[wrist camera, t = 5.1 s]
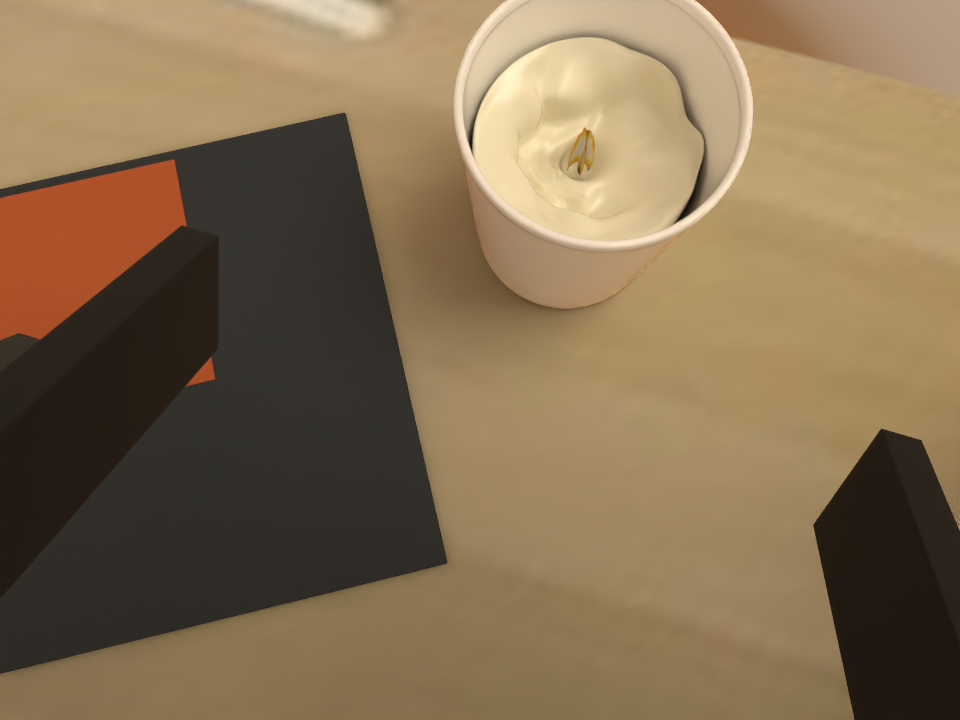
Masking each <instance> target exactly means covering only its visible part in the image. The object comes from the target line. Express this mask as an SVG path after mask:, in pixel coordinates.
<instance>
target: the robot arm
mask: <svg viewBox="0 0 960 720" xmlns="http://www.w3.org/2000/svg"><path fill="white" fill-rule="evenodd" d="M218 325H219V236H217V235H214V234H210V233H207V232H203V231H200V230H197V229H193V228H190V227H186V226H183V225H181V226H180V227H179V228H178V229H176V230H175V231H174V232H173V233H171V234H170V235H169V236H168V237H166V238H165V239H164V240H163V241H161V242H160V243H159V244H158V245H157V246H155V247H154V248H153V249H152V250H150V251H149V252H148V253H147V254H145V255H144V256H143V257H142V258H140V259H139V260H138V261H137V262H136V263H134V264H133V265H132V266H131V267H129V268H128V269H127V270H126V271H124V272H123V273H122V274H121V275H119V276H118V277H117V278H116V279H115V280H113V281H112V282H111V283H110V284H108V285H107V286H106V287H105V288H103V289H102V290H101V291H100V292H98V293H97V294H96V295H95V296H94V297H92V298H91V299H90V300H89V301H87V302H86V303H85V304H84V305H82V306H81V307H80V308H79V309H77V310H76V311H75V312H74V313H72V314H71V315H70V316H69V317H68V318H66V319H65V320H64V321H63V322H61V323H60V324H59V325H58V326H56V327H55V328H54V329H53V330H51V331H50V332H49V333H48V334H47V335H45V336H44V337H43V338H42V339H38V338H34V337H31V336H28V335H24V334H21V333H17V334H15V335H12V336H10V337H7V338H5V339H2V340H0V597H3V596H4V594H5V593H6V592H7V591H8V590H9V589H10V588H11V586H12V585H13V584H14V583H15V582H16V581H17V579H18V578H19V577H20V576H21V575H22V574H23V573H24V571H25V570H26V569H27V568H28V567H29V566H30V565H31V563H32V562H33V561H34V560H35V559H36V558H37V556H38V555H39V554H40V553H41V552H42V551H43V550H44V548H45V547H46V546H47V545H48V544H49V543H50V542H51V540H52V539H53V538H54V537H55V536H56V535H57V533H58V532H59V531H60V530H61V529H62V528H63V527H64V525H65V524H66V523H67V522H68V521H69V520H70V518H71V517H72V516H73V515H74V514H75V513H76V512H77V510H78V509H79V508H80V507H81V506H82V505H83V504H84V502H85V501H86V500H87V499H88V498H89V497H90V495H91V494H92V493H93V492H94V491H95V490H96V489H97V487H98V486H99V485H100V484H101V483H102V482H103V481H104V479H105V478H106V477H107V476H108V475H109V474H110V472H111V471H112V470H113V469H114V468H115V467H116V466H117V464H118V463H119V462H120V461H121V460H122V459H123V458H124V456H125V455H126V454H127V453H128V452H129V451H130V449H131V448H132V447H133V446H134V445H135V444H136V443H137V441H138V440H139V439H140V438H141V437H142V436H143V434H144V433H145V432H146V431H147V430H148V429H149V428H150V426H151V425H152V424H153V423H154V422H155V421H156V420H157V418H158V417H159V416H160V415H161V414H162V413H163V411H164V410H165V409H166V408H167V407H168V406H169V405H170V403H171V402H172V401H173V400H174V399H175V398H176V397H177V395H178V394H179V393H180V392H181V391H182V390H183V388H184V387H185V386H186V385H187V384H188V383H189V382H190V380H191V379H192V378H193V377H194V376H195V375H196V373H197V372H198V371H199V370H200V369H201V368H202V367H203V365H204V364H205V363H206V362H207V361H208V360H209V359H210V357H211V356H212V355H213V354H214V353H215V352H216V350H217V349H218ZM813 526H814V531H815V535H816V540H817V545H818V550H819V554H820V559H821V564H822V568H823V573H824V578H825V582H826V587H827V592H828V597H829V601H830V606H831V611H832V615H833V620H834V625H835V630H836V634H837V639H838V644H839V648H840V653H841V658H842V662H843V667H844V672H845V677H846V681H847V686H848V691H849V695H850V700H851V705H852V710H853V714H854V719H855V720H960V531H959V529H958V526H957V524H956V521H955V519H954V517H953V514H952V512H951V509H950V507H949V505H948V502H947V500H946V498H945V495H944V493H943V490H942V488H941V486H940V483H939V481H938V479H937V476H936V474H935V471H934V469H933V467H932V464H931V462H930V460H929V457H928V455H927V452H926V450H925V448H924V445H923V443H922V440H919V439H915V438H912V437H908V436H905V435H901V434H898V433H895V432H891V431H888V430H884V429H881V430H880V431H879V433H878V434H877V435H876V437H875V438H874V440H873V441H872V443H871V444H870V445H869V447H868V448H867V450H866V451H865V452H864V454H863V455H862V457H861V458H860V460H859V461H858V462H857V464H856V465H855V467H854V468H853V469H852V471H851V472H850V474H849V475H848V477H847V478H846V479H845V481H844V482H843V484H842V485H841V486H840V488H839V489H838V491H837V492H836V494H835V495H834V496H833V498H832V499H831V501H830V502H829V503H828V505H827V506H826V508H825V509H824V511H823V512H822V513H821V515H820V516H819V518H818V519H817V520H816V522H815V523H814V525H813Z"/></svg>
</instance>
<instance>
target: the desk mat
mask: <svg viewBox="0 0 960 720" xmlns="http://www.w3.org/2000/svg"><path fill="white" fill-rule="evenodd" d="M181 225H183V226H186V227H190V228H193V229H197V230H200V231H203V232H207V233H210V234H214V235H217V236H219V325H218V349H217V350H216V352H215V353H214V354H213V355H212V356H211V357H210V359H209V360H208V361H207V362H206V363H205V364H204V365H203V367H202V368H201V369H200V370H199V371H198V372H197V373H196V375H195V376H194V377H193V378H192V379H191V380H190V382H189V383H188V384H187V385H186V386H185V387H184V388H183V390H182V391H181V392H180V393H179V394H178V395H177V397H176V398H175V399H174V400H173V401H172V402H171V403H170V405H169V406H168V407H167V408H166V409H165V410H164V411H163V413H162V414H161V415H160V416H159V417H158V418H157V420H156V421H155V422H154V423H153V424H152V425H151V426H150V428H149V429H148V430H147V431H146V432H145V433H144V434H143V436H142V437H141V438H140V439H139V440H138V441H137V443H136V444H135V445H134V446H133V447H132V448H131V449H130V451H129V452H128V453H127V454H126V455H125V456H124V458H123V459H122V460H121V461H120V462H119V463H118V464H117V466H116V467H115V468H114V469H113V470H112V471H111V472H110V474H109V475H108V476H107V477H106V478H105V479H104V481H103V482H102V483H101V484H100V485H99V486H98V487H97V489H96V490H95V491H94V492H93V493H92V494H91V495H90V497H89V498H88V499H87V500H86V501H85V502H84V504H83V505H82V506H81V507H80V508H79V509H78V510H77V512H76V513H75V514H74V515H73V516H72V517H71V518H70V520H69V521H68V522H67V523H66V524H65V525H64V527H63V528H62V529H61V530H60V531H59V532H58V533H57V535H56V536H55V537H54V538H53V539H52V540H51V542H50V543H49V544H48V545H47V546H46V547H45V548H44V550H43V551H42V552H41V553H40V554H39V555H38V556H37V558H36V559H35V560H34V561H33V562H32V563H31V565H30V566H29V567H28V568H27V569H26V570H25V571H24V573H23V574H22V575H21V576H20V577H19V578H18V579H17V581H16V582H15V583H14V584H13V585H12V586H11V588H10V589H9V590H8V591H7V592H6V593H5V594H4V596H3V597H0V673H4V672H9V671H13V670H17V669H21V668H25V667H29V666H33V665H37V664H41V663H45V662H49V661H53V660H57V659H61V658H65V657H69V656H73V655H78V654H82V653H86V652H90V651H94V650H98V649H102V648H106V647H110V646H114V645H118V644H122V643H126V642H130V641H134V640H138V639H142V638H146V637H151V636H155V635H159V634H163V633H167V632H171V631H175V630H179V629H183V628H187V627H191V626H195V625H199V624H203V623H207V622H211V621H215V620H220V619H224V618H228V617H232V616H236V615H240V614H244V613H248V612H252V611H256V610H260V609H264V608H268V607H272V606H276V605H280V604H284V603H289V602H293V601H297V600H301V599H305V598H309V597H313V596H317V595H321V594H325V593H329V592H333V591H337V590H341V589H345V588H349V587H353V586H357V585H362V584H366V583H370V582H374V581H378V580H382V579H386V578H390V577H394V576H398V575H402V574H406V573H410V572H414V571H418V570H422V569H426V568H431V567H435V566H439V565H443V564H446V563H447V559H446V555H445V550H444V546H443V542H442V537H441V533H440V528H439V524H438V519H437V515H436V511H435V506H434V502H433V497H432V493H431V489H430V484H429V480H428V475H427V471H426V466H425V462H424V458H423V453H422V449H421V444H420V440H419V435H418V431H417V427H416V422H415V418H414V413H413V409H412V405H411V400H410V396H409V391H408V387H407V382H406V378H405V374H404V369H403V365H402V360H401V356H400V352H399V347H398V343H397V338H396V334H395V329H394V325H393V321H392V316H391V312H390V307H389V303H388V298H387V294H386V290H385V285H384V281H383V276H382V272H381V268H380V263H379V259H378V254H377V250H376V245H375V241H374V237H373V232H372V228H371V223H370V219H369V214H368V210H367V206H366V201H365V197H364V192H363V188H362V184H361V179H360V175H359V170H358V166H357V161H356V157H355V153H354V148H353V144H352V139H351V135H350V131H349V126H348V122H347V117H346V114H345V113H341V114H336V115H332V116H328V117H323V118H319V119H314V120H310V121H305V122H301V123H296V124H292V125H287V126H283V127H278V128H274V129H269V130H265V131H260V132H256V133H251V134H247V135H242V136H238V137H233V138H229V139H224V140H220V141H215V142H211V143H206V144H202V145H197V146H193V147H188V148H184V149H179V150H175V151H170V152H166V153H161V154H157V155H152V156H148V157H143V158H139V159H134V160H130V161H125V162H121V163H116V164H112V165H107V166H103V167H98V168H94V169H89V170H85V171H80V172H76V173H71V174H67V175H62V176H58V177H53V178H49V179H44V180H40V181H35V182H31V183H26V184H22V185H17V186H13V187H9V188H4V189H0V340H2V339H5V338H7V337H10V336H12V335H15V334H17V333H21V334H24V335H28V336H31V337H34V338H38V339H42V338H43V337H44V336H45V335H47V334H48V333H49V332H50V331H51V330H53V329H54V328H55V327H56V326H58V325H59V324H60V323H61V322H63V321H64V320H65V319H66V318H68V317H69V316H70V315H71V314H72V313H74V312H75V311H76V310H77V309H79V308H80V307H81V306H82V305H84V304H85V303H86V302H87V301H89V300H90V299H91V298H92V297H94V296H95V295H96V294H97V293H98V292H100V291H101V290H102V289H103V288H105V287H106V286H107V285H108V284H110V283H111V282H112V281H113V280H115V279H116V278H117V277H118V276H119V275H121V274H122V273H123V272H124V271H126V270H127V269H128V268H129V267H131V266H132V265H133V264H134V263H136V262H137V261H138V260H139V259H140V258H142V257H143V256H144V255H145V254H147V253H148V252H149V251H150V250H152V249H153V248H154V247H155V246H157V245H158V244H159V243H160V242H161V241H163V240H164V239H165V238H166V237H168V236H169V235H170V234H171V233H173V232H174V231H175V230H176V229H178V228H179V227H180V226H181Z"/></svg>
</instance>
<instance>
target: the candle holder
mask: <svg viewBox="0 0 960 720" xmlns="http://www.w3.org/2000/svg"><path fill="white" fill-rule="evenodd" d="M453 120H454V128H455V134H456V138H457V142H458V146H459V149H460V152H461V155H462V158H463V163H464V168H465V174H466V179H467V184H468V189H469V195H470V200H471V205H472V210H473V216H474V221H475V225H476V230H477V235H478V239H479V242H480V246H481V249H482V251H483V254H484V256H485V258H486V260H487V262H488V264H489V266H490V267H491V269H492V270H493V272H494V273H495V274H496V276H497V277H498V278H499V279H500V280H501V281H502V282H503V283H504V284H505V285H506V286H507V287H508V288H509V289H511V290H512V291H513V292H515V293H516V294H518V295H519V296H521V297H523V298H525V299H527V300H529V301H531V302H534V303H536V304H539V305H543V306H547V307H553V308H579V307H585V306H589V305H593V304H596V303H598V302H601V301H603V300H605V299H607V298H609V297H611V296H613V295H614V294H616V293H617V292H619V291H620V290H622V289H623V288H624V287H625V286H627V285H628V284H629V283H630V282H631V281H632V280H634V279H635V278H636V277H637V276H638V275H639V274H640V273H641V272H642V271H643V270H644V269H646V268H647V267H648V266H649V265H650V264H651V263H652V262H653V261H654V260H655V259H656V258H657V257H658V256H659V255H660V254H661V253H663V252H664V251H665V250H666V249H667V248H668V247H669V246H670V245H671V244H672V243H673V242H674V241H675V240H676V239H677V238H678V237H680V236H681V235H682V234H683V233H684V232H685V231H686V230H687V229H688V228H689V227H691V226H692V225H694V224H695V223H696V222H698V221H699V220H700V219H702V218H703V217H704V216H705V215H706V214H707V213H708V212H710V211H711V210H712V209H713V208H714V207H715V206H716V204H717V203H718V202H719V201H720V200H721V199H722V198H723V196H724V195H725V194H726V192H727V191H728V190H729V188H730V187H731V185H732V184H733V182H734V180H735V179H736V177H737V175H738V173H739V171H740V169H741V167H742V164H743V162H744V159H745V157H746V154H747V151H748V147H749V143H750V139H751V133H752V125H753V100H752V92H751V86H750V82H749V78H748V74H747V71H746V68H745V65H744V63H743V60H742V58H741V56H740V54H739V52H738V50H737V48H736V46H735V44H734V43H733V41H732V39H731V38H730V36H729V35H728V34H727V32H726V31H725V29H724V28H723V27H722V26H721V24H720V23H719V22H718V21H717V20H716V19H715V18H714V17H713V16H712V14H711V13H709V12H708V11H707V10H706V9H705V8H704V7H703V6H702V5H700V4H699V3H698V2H697V1H695V0H506V1H504V2H503V3H502V4H501V5H500V6H499V7H497V8H496V9H495V10H494V11H493V12H492V13H491V14H490V15H489V16H488V17H487V19H486V20H485V21H484V22H483V23H482V25H481V26H480V27H479V29H478V30H477V31H476V33H475V34H474V36H473V38H472V39H471V41H470V43H469V45H468V47H467V49H466V51H465V53H464V55H463V58H462V60H461V63H460V66H459V69H458V73H457V77H456V81H455V87H454V95H453Z"/></svg>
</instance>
